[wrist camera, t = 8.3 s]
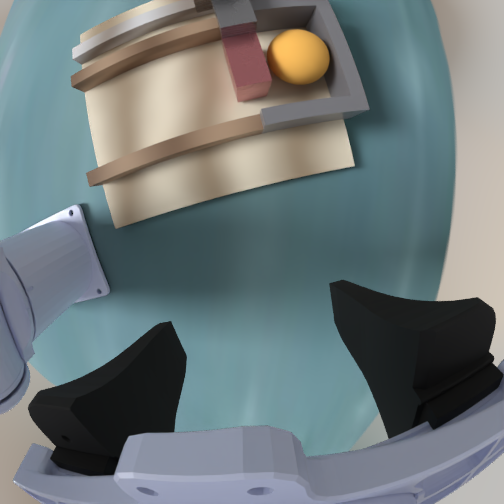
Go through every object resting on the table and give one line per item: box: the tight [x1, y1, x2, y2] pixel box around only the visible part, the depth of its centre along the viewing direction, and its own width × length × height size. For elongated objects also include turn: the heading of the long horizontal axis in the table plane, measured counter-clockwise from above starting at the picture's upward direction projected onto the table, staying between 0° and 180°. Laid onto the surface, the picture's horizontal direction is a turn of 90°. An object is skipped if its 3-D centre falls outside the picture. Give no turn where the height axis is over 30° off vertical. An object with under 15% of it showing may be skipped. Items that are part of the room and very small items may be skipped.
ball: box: [267, 29, 330, 85], centre depth 14 cm, size 4×4×4 cm
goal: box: [250, 0, 370, 133], centre depth 14 cm, size 6×9×3 cm
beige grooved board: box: [71, 0, 355, 229], centre depth 15 cm, size 18×18×3 cm
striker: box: [193, 0, 272, 102], centre depth 11 cm, size 4×10×8 cm, turn 14°
